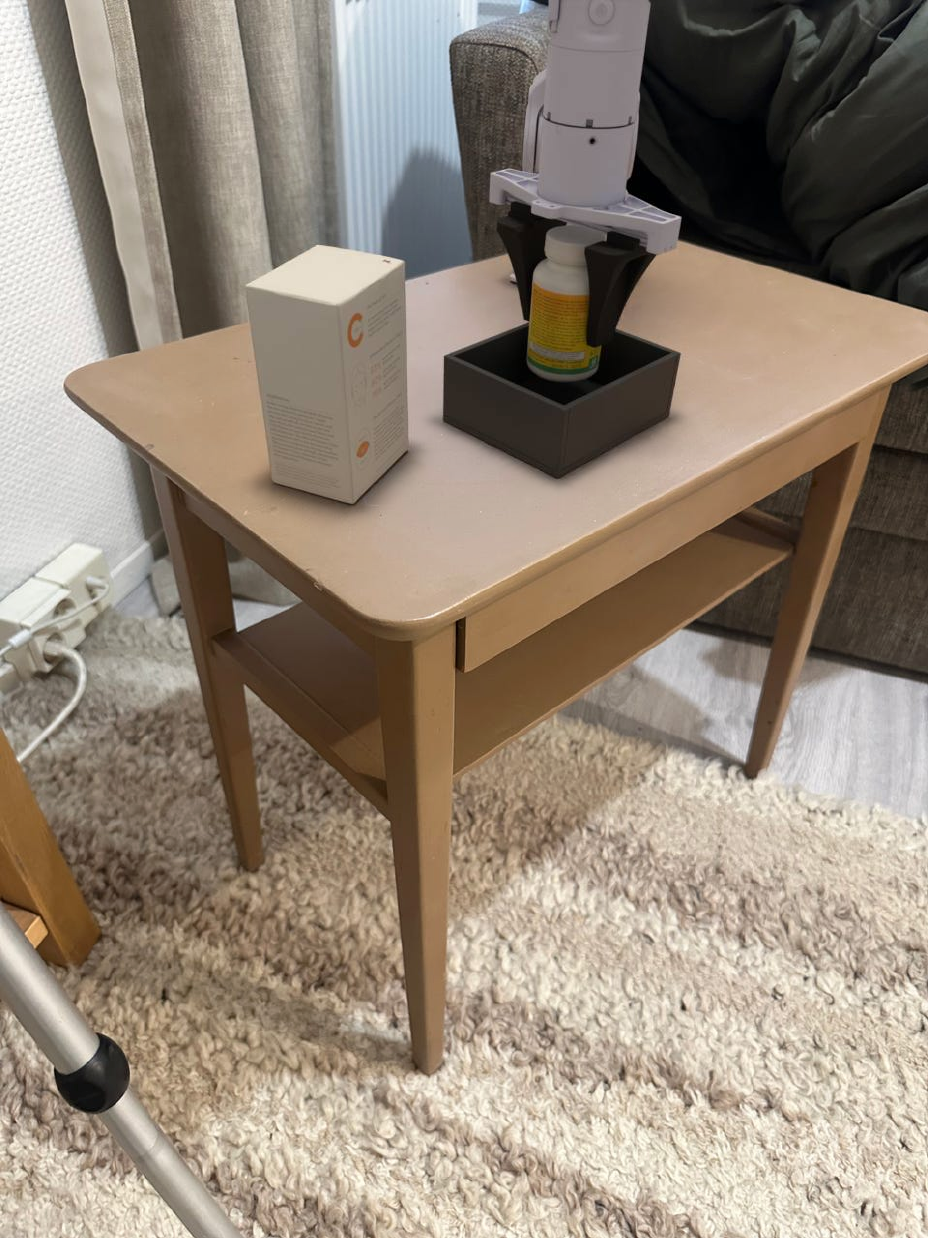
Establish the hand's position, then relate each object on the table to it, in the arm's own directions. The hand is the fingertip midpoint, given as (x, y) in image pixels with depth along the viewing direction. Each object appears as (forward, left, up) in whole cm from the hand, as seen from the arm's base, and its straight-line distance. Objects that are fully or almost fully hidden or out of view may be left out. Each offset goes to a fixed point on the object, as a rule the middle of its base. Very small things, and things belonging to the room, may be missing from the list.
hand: (566, 329), depth 65 cm
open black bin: (+2, +2, -6) cm, 6 cm away
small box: (+18, -4, -6) cm, 19 cm away
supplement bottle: (0, 0, -3) cm, 3 cm away
